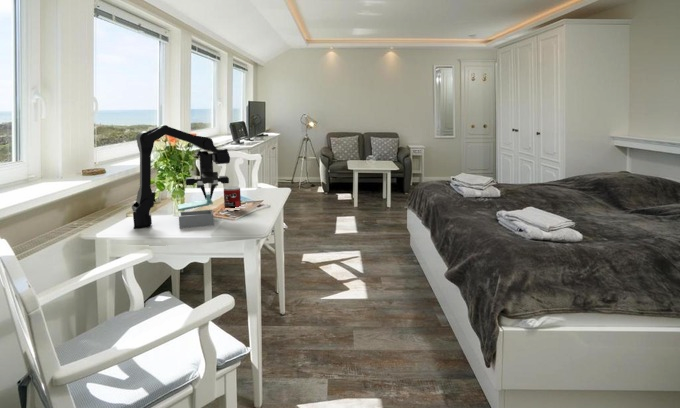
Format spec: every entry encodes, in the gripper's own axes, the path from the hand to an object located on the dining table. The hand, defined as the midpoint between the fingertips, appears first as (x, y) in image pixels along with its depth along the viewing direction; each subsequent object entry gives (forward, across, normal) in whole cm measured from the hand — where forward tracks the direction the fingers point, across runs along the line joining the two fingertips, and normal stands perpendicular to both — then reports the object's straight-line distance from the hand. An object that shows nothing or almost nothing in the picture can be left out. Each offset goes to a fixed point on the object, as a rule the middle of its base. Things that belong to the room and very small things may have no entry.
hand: (208, 199), depth 217 cm
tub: (+8, -6, -12) cm, 16 cm away
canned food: (+9, +12, +12) cm, 19 cm away
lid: (+3, -6, 0) cm, 6 cm away
